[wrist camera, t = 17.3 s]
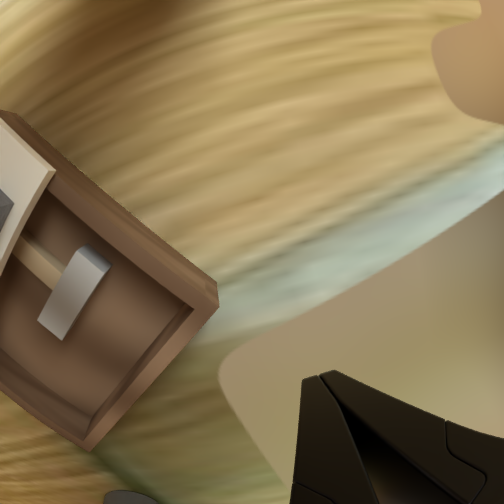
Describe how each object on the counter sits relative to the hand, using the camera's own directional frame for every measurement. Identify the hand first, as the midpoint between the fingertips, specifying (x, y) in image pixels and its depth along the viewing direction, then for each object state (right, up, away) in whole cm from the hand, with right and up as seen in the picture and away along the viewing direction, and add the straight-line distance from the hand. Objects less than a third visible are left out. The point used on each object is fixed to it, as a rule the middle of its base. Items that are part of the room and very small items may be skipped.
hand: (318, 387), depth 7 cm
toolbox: (-14, +1, +9) cm, 17 cm away
